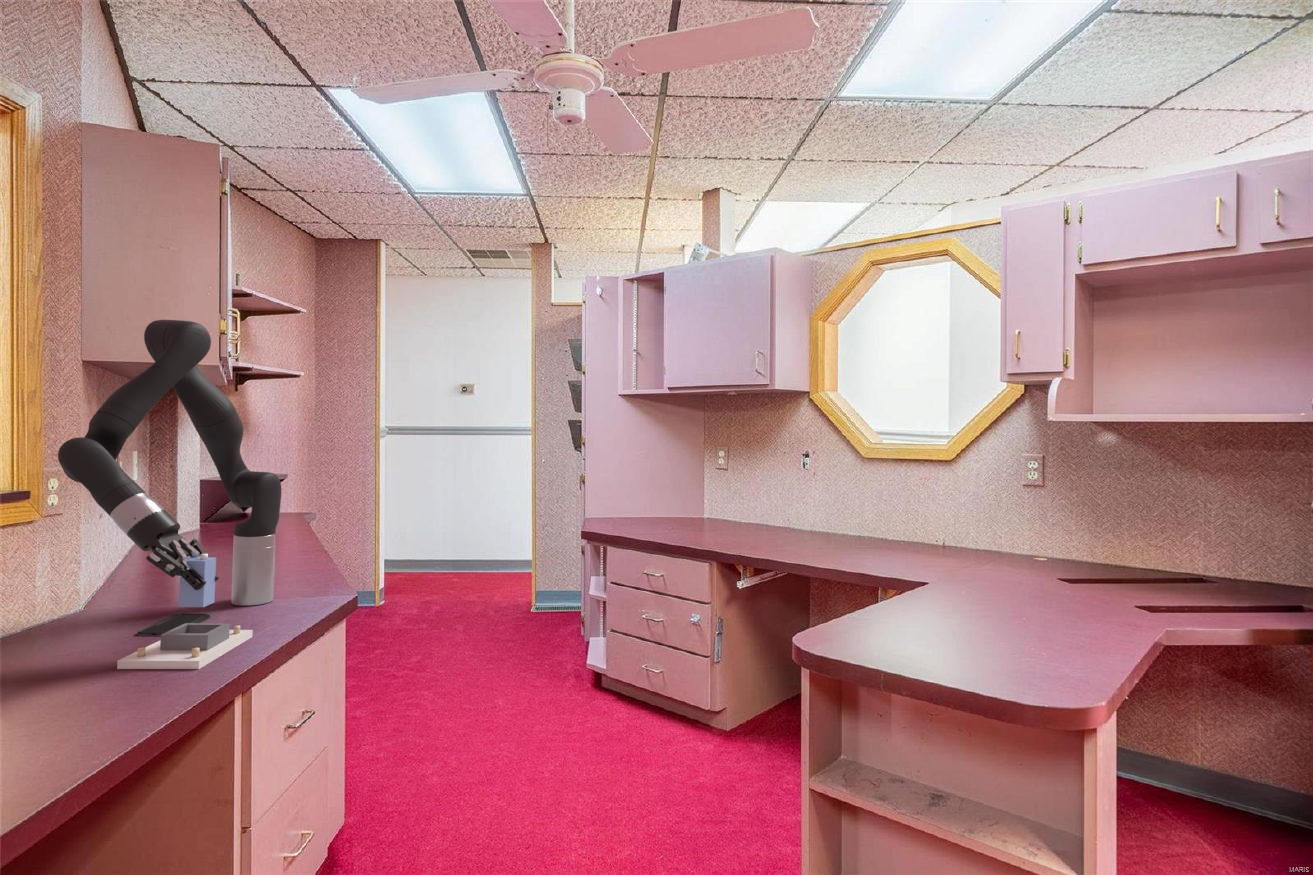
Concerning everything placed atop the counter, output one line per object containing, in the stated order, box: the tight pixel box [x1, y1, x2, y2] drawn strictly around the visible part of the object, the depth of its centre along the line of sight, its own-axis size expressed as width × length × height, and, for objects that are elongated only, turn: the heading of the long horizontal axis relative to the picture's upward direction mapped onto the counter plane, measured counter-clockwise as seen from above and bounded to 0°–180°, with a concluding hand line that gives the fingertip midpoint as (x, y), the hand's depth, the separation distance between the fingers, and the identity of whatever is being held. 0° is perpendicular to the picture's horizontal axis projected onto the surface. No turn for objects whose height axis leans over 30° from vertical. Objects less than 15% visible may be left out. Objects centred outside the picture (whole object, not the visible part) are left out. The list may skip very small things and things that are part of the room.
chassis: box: [116, 622, 254, 670], centre depth 134 cm, size 20×14×4 cm
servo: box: [178, 553, 217, 608], centre depth 134 cm, size 4×4×10 cm
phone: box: [137, 613, 211, 637], centre depth 151 cm, size 8×1×15 cm
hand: (208, 584), depth 134 cm, fingers closed on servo, 4 cm apart
